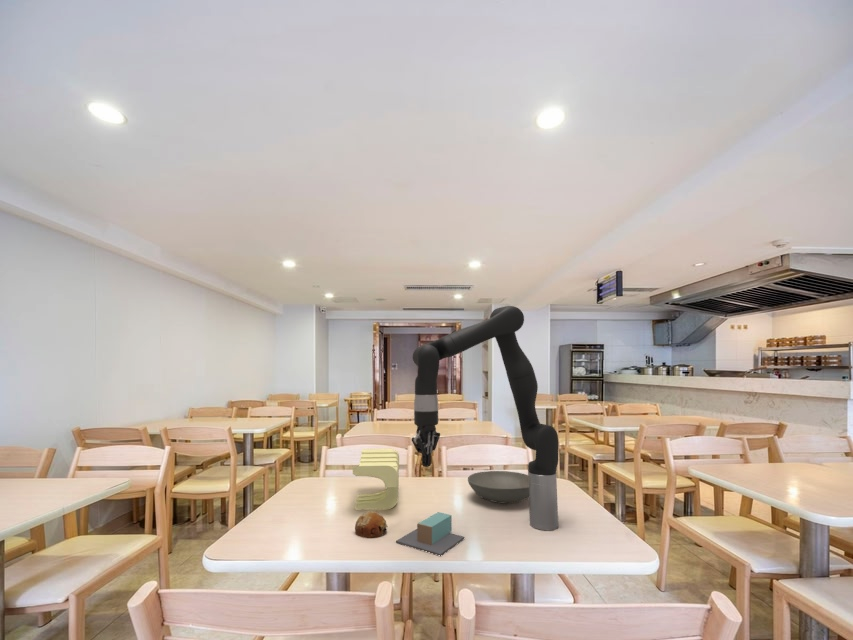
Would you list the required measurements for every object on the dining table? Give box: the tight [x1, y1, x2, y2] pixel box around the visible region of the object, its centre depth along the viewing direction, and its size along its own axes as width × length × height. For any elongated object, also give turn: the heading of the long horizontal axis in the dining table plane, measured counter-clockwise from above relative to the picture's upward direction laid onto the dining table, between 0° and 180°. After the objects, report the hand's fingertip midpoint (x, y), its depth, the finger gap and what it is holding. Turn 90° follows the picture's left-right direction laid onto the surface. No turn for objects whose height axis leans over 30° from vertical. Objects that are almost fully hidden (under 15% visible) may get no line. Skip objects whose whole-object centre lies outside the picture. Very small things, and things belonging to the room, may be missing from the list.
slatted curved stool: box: [352, 448, 400, 510], centre depth 160 cm, size 30×16×18 cm, turn 3°
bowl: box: [467, 470, 529, 504], centre depth 163 cm, size 27×28×8 cm
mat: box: [395, 528, 466, 557], centre depth 125 cm, size 14×16×1 cm
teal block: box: [416, 511, 453, 545], centre depth 127 cm, size 5×5×12 cm
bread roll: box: [354, 510, 389, 539], centre depth 132 cm, size 10×10×8 cm
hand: (426, 466), depth 126 cm, fingers closed
